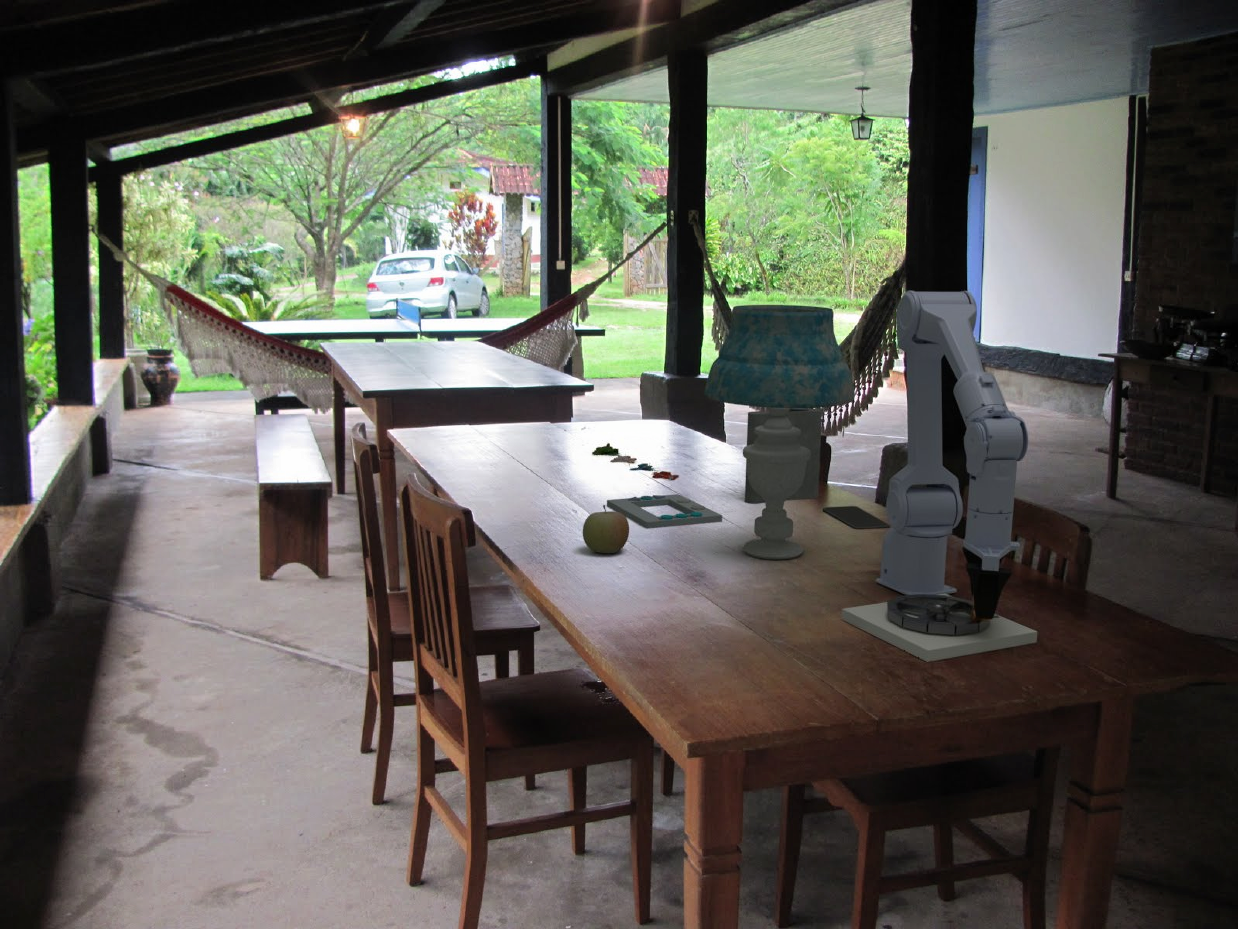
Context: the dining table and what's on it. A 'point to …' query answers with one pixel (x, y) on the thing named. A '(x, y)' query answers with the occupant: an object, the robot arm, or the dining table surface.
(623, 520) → the fruit
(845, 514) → the smartphone
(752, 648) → the dining table surface
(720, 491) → the dining table surface
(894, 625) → the base plate
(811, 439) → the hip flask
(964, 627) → the handwheel
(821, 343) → the table lamp
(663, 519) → the picture frame
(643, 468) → the toy spaceship set
